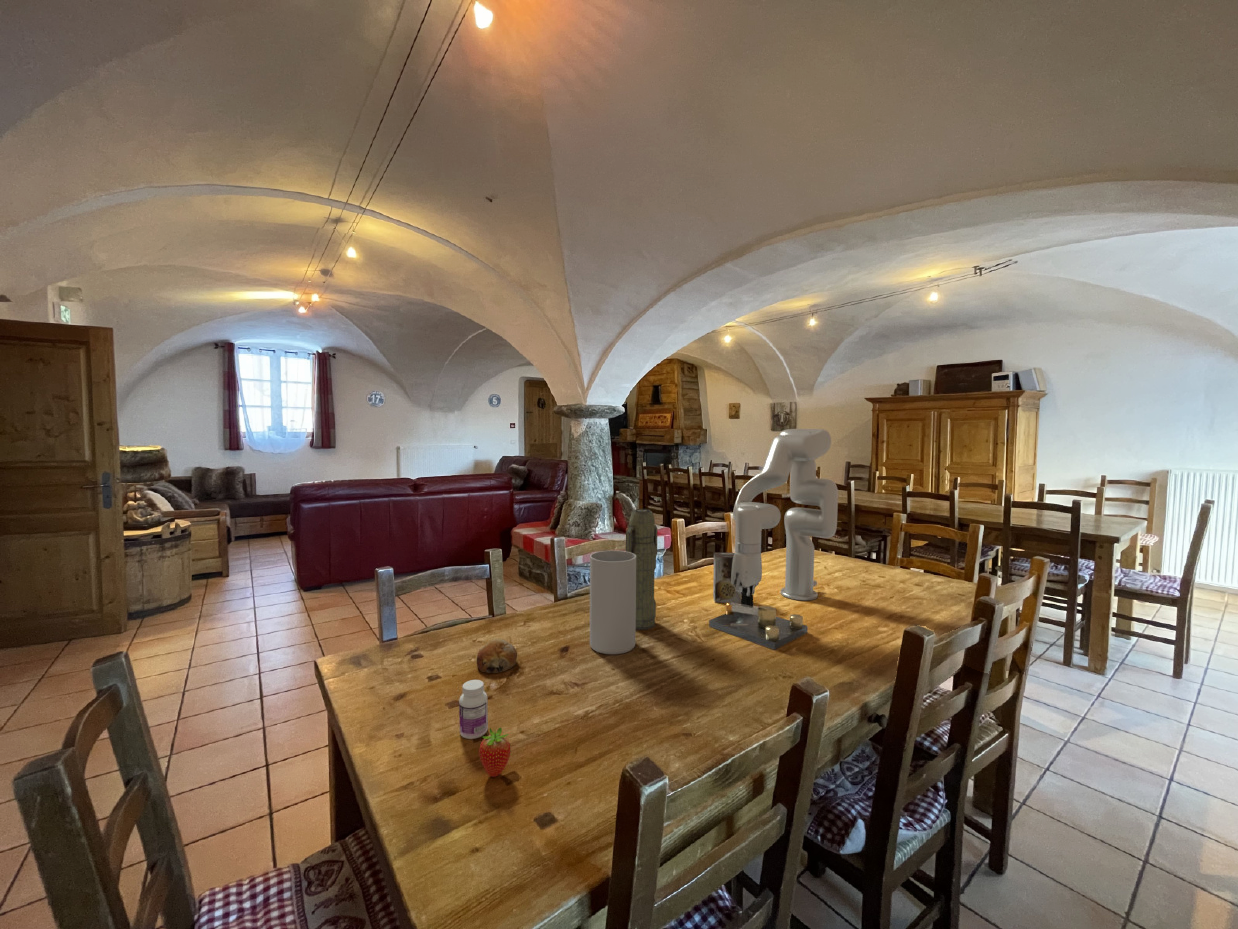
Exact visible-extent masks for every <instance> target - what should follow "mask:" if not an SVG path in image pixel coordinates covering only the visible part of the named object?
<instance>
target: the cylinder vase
mask: <svg viewBox="0 0 1238 929" xmlns="http://www.w3.org/2000/svg"><path fill="white" fill-rule="evenodd" d="M636 630H637V629H636V555H635V554H633V553H630V552H626V550H601V551H595V552H593V553H591V554H590V555H589V645H590V648H591V649H592V650H593V651H595V652H597V653H600V654H604V655H621V654H625V653H628V652H630V651H632V650H633V649H634V648H635V647H636Z"/></svg>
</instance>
